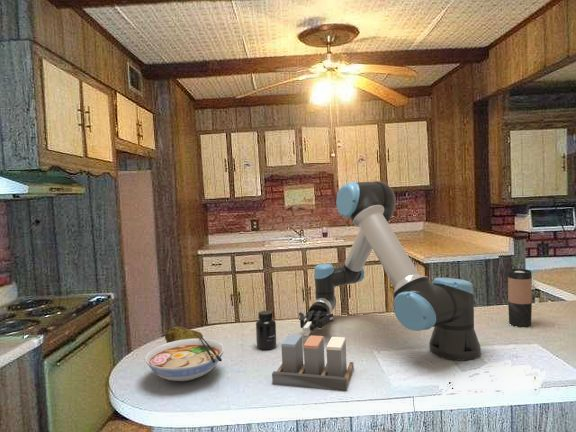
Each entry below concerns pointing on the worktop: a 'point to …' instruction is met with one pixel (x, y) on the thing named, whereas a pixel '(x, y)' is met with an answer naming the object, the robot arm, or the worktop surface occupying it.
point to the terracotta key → (314, 355)
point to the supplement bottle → (265, 331)
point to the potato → (181, 334)
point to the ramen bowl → (184, 358)
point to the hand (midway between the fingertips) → (305, 331)
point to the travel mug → (519, 297)
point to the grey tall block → (336, 357)
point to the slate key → (292, 353)
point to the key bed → (313, 379)
